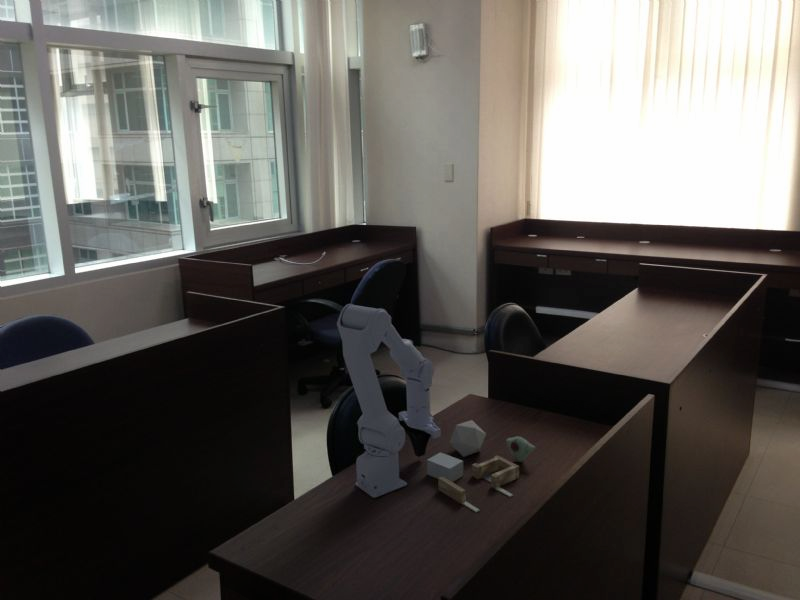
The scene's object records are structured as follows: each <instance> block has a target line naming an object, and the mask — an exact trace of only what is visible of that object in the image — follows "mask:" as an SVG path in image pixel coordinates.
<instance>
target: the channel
mask: <svg viewBox="0 0 800 600" xmlns="http://www.w3.org/2000/svg"><path fill="white" fill-rule="evenodd" d="M471 476H472V477H473V478H474V479H477V480H479V479H483V480H485V481H487V482H488V483H490V487H491V488H492V489H494V490H496V488H497V487H502V486H504V485H506V484H509V483H511V482H513V481H514V480H515V481H516V480H517V479H519V478H520V465H518V464H516V463H514V462H512V461H510V460H508V459H506V458H504V457H502V456H500V455H497V454H496V455H495V456H493V458H490V459H489V460H486V461H483V462H481V463H477V462H475V463H473V464H471ZM437 480H438V483H437V485H438V491H440V492H441V493H443V494H445V495H446V496H448V497H449V498H451V499H453V500H454V501H455V502H457V503H459V504H460V505H463V504H462V503H463V502H465V501H466V502H467V500H466V499H467V495H466V492H467V491H466V489H464V488H463V487H461V486H459V485H458V484H457V483H455V482H451V481H449V480H448V479H446V478H444V477H443V476H442V477H439V478H437Z"/></svg>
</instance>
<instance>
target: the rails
mask: <svg viewBox="0 0 800 600" xmlns="http://www.w3.org/2000/svg"><path fill="white" fill-rule="evenodd" d="M495 490H496V491H497V492H500V493H501V494H503V495H505V496H507V497H508V498H511V497H513V496H514V494H513V493H511V492H509V491H507V490H505V489H504V488H502V487H501V486H499V487H497V488H496V489H495ZM461 505H463V506H465V507H467V508H468V509H469V510H471V511H472V512H474V513H478V512H480V511H481V510H480V509H479V508H478V507H476V506H474V505H472V503H470V502H468V501H467V500H466V501H465V502H463V503H462V504H461Z"/></svg>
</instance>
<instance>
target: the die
mask: <svg viewBox="0 0 800 600" xmlns="http://www.w3.org/2000/svg"><path fill="white" fill-rule="evenodd" d="M486 436H487V432H485V431H484V430H483V429H482V428H481V427H480V426H478V424H476V422H475V421H474V420H473V419H470V420H466V421H463V422H461V423H459V424H456V425H455V426H454V429H453V432H452V434H451V437H450V440H449V444H450V445H451V446H452V447H453V448H454V449H455V450H456V451H457V452H458V453H459V454H460V455H461V456H462V457H463V458H464V457H468V456H471V455H474V454H476V453H479V452H480V451H481V449H482V446H483V443H484V440H485V438H486Z"/></svg>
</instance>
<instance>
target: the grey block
mask: <svg viewBox="0 0 800 600" xmlns="http://www.w3.org/2000/svg"><path fill="white" fill-rule="evenodd" d="M426 474H427V475H428V476H431V477H433V478H436V479H438V478H439V477H442V476H443V477H444V478H446V479H448V480H449V481H451V482H453V483H455V481H457V480H458V479H460V478H462V477H463V476H464V460H461V459H459V458H456V457H453V456H451V455H448V454H446V453H443V452H438V453H437V454H435V455H433V456H431V457H429V458H427V459H426Z"/></svg>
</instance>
